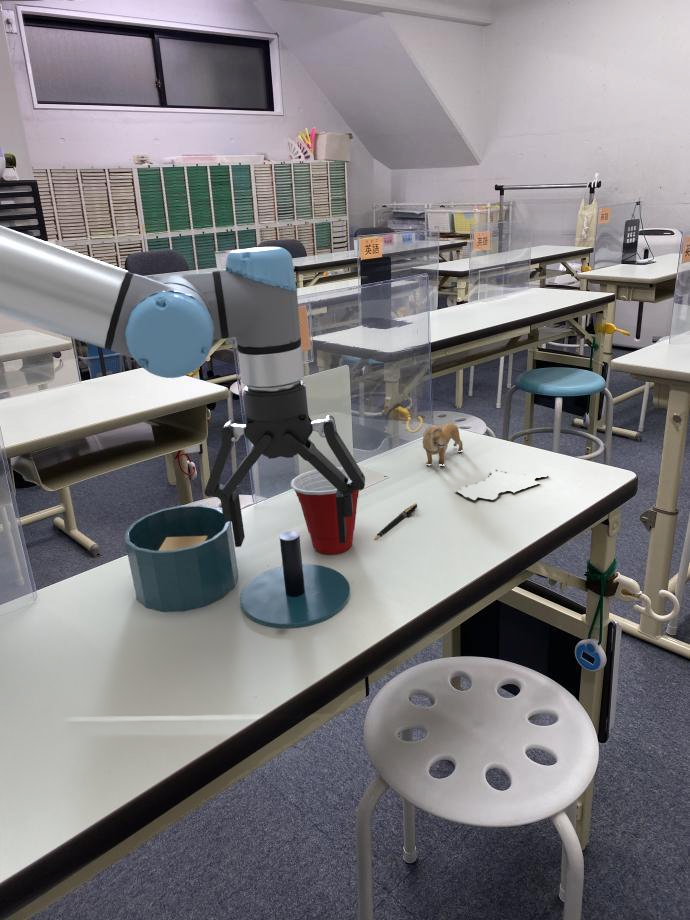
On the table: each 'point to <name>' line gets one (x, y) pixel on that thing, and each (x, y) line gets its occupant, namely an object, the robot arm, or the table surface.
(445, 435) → the lion figurine
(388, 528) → the fountain pen
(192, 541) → the block
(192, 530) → the tin
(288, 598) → the lid
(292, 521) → the table surface
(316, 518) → the plastic cup
